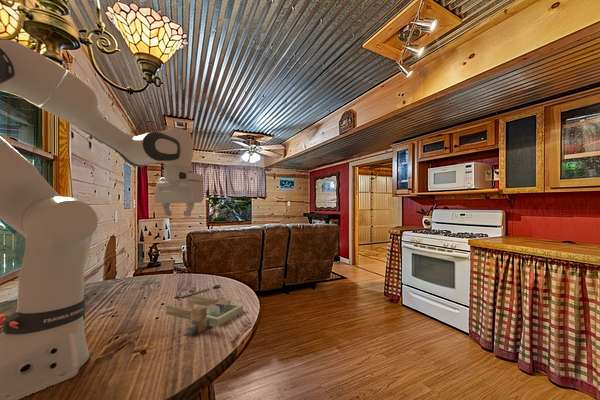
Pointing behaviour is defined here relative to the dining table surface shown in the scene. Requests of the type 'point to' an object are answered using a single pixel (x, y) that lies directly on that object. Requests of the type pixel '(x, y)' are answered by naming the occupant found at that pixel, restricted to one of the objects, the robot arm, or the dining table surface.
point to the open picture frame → (225, 315)
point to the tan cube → (213, 310)
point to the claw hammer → (194, 293)
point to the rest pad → (197, 333)
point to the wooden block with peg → (198, 320)
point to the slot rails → (187, 312)
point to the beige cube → (223, 306)
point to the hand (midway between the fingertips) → (177, 216)
